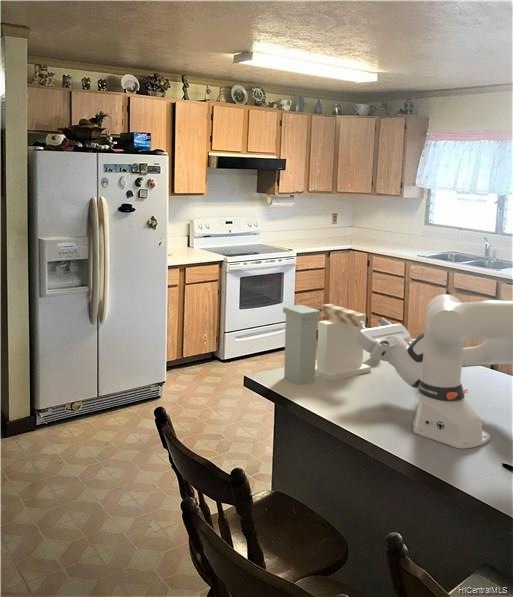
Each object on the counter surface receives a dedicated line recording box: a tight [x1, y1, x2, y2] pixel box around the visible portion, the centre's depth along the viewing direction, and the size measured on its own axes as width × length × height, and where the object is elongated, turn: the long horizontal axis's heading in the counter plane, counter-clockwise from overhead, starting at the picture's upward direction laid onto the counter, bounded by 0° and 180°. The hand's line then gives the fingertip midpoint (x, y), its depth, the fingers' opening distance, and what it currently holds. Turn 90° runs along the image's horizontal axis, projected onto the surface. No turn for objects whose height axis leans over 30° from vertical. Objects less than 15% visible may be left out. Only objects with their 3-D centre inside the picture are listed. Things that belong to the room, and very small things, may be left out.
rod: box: [320, 303, 367, 327], centre depth 234 cm, size 20×4×4 cm, turn 33°
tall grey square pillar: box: [282, 304, 321, 385], centre depth 227 cm, size 11×8×26 cm
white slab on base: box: [315, 318, 372, 382], centre depth 237 cm, size 12×20×20 cm, turn 123°
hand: (370, 320), depth 222 cm, fingers open, 8 cm apart
